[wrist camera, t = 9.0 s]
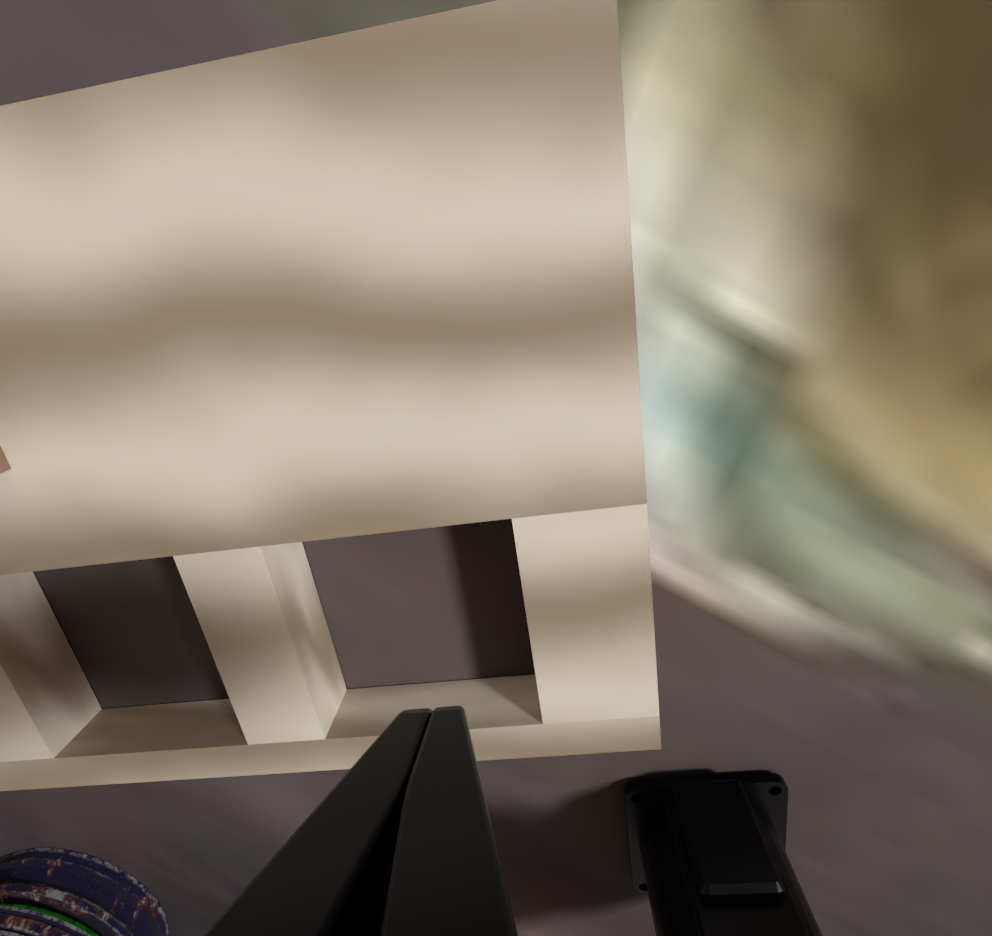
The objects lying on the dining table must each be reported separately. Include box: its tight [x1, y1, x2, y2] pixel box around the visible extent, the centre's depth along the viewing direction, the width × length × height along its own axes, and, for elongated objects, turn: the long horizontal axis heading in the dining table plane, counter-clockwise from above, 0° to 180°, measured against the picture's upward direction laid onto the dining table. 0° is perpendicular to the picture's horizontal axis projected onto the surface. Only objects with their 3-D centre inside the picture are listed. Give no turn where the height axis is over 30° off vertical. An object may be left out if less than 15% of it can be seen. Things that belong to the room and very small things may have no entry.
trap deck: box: [0, 0, 661, 791], centre depth 17 cm, size 22×28×4 cm
